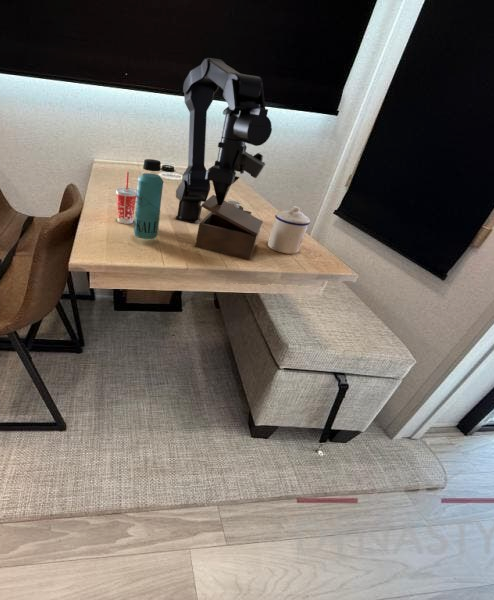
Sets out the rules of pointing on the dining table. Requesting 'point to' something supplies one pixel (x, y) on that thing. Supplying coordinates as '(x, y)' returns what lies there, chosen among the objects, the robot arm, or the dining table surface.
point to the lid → (233, 215)
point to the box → (225, 237)
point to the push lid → (234, 203)
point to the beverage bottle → (148, 201)
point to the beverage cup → (126, 203)
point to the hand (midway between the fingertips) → (219, 204)
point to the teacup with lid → (288, 231)
